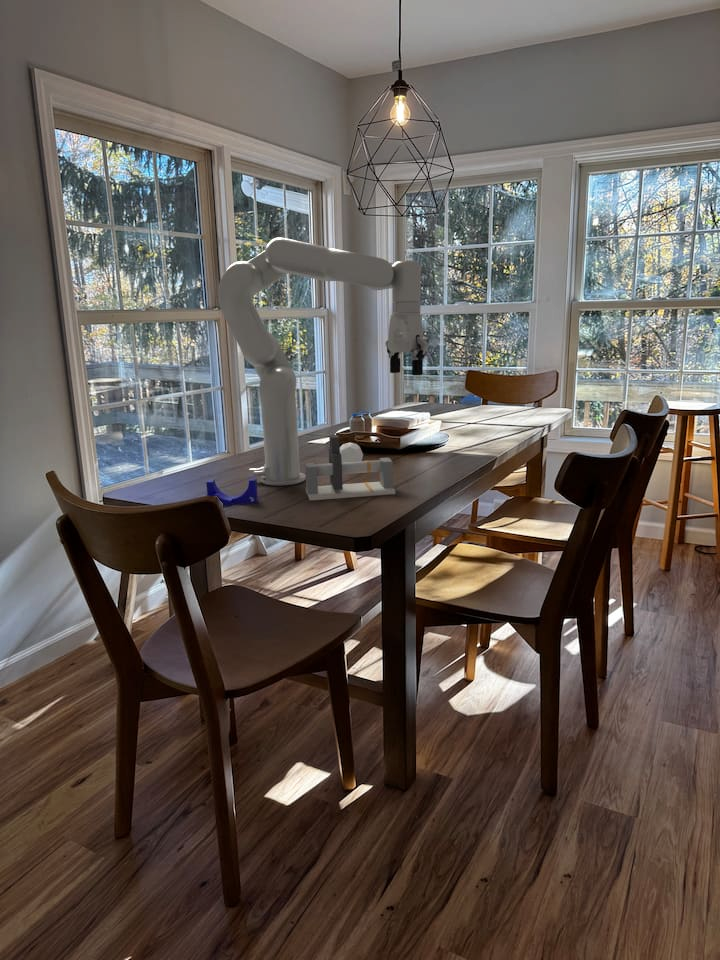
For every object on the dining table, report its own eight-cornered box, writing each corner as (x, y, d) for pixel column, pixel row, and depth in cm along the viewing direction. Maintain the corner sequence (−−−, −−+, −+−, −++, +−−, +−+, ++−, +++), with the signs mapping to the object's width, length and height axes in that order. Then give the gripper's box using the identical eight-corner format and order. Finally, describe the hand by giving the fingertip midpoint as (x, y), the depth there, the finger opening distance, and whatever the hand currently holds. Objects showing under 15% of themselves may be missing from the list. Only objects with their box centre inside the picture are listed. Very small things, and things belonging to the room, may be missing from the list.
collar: (334, 490, 169) (332, 439, 166) (330, 482, 178) (327, 433, 175) (342, 489, 169) (340, 439, 166) (337, 481, 178) (335, 433, 175)
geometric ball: (354, 474, 206) (367, 452, 206) (353, 471, 198) (367, 448, 198) (333, 462, 206) (346, 440, 207) (331, 458, 198) (345, 435, 199)
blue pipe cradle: (207, 507, 166) (205, 483, 164) (210, 502, 170) (208, 479, 169) (255, 505, 166) (254, 481, 165) (257, 500, 170) (256, 477, 169)
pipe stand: (309, 500, 168) (308, 469, 166) (305, 490, 178) (304, 460, 176) (395, 493, 172) (394, 463, 170) (386, 484, 181) (386, 455, 179)
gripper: (376, 309, 184) (376, 372, 188) (415, 308, 171) (415, 376, 175) (397, 309, 189) (397, 371, 193) (438, 308, 175) (437, 375, 179)
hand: (406, 373), depth 184 cm, fingers open, 9 cm apart
